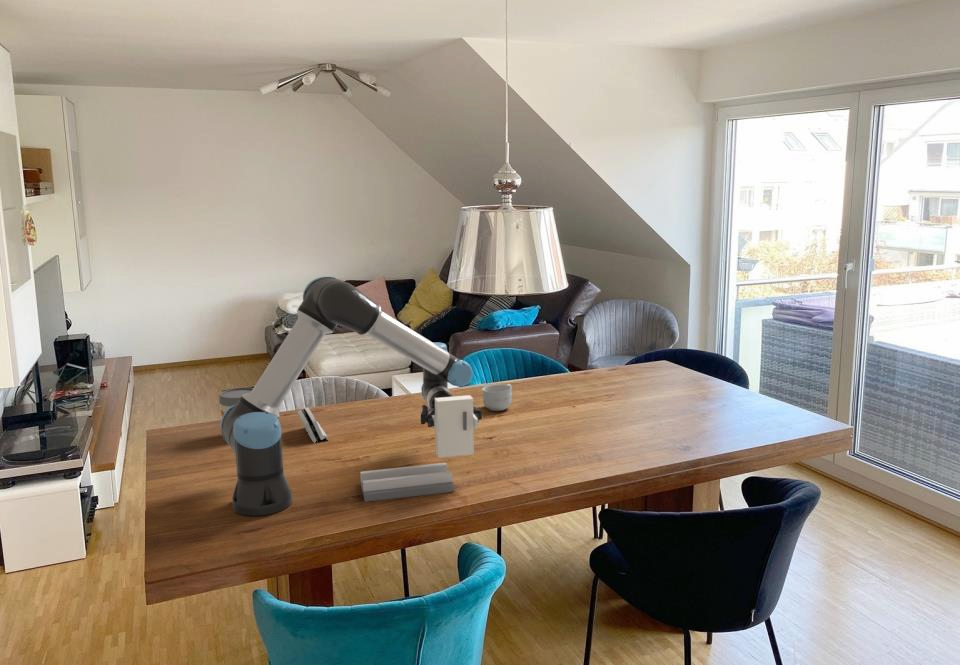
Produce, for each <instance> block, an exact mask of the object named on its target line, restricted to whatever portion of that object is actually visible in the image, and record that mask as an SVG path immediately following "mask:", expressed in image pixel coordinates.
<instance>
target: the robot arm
mask: <svg viewBox="0 0 960 665" xmlns="http://www.w3.org/2000/svg"><path fill="white" fill-rule="evenodd" d="M296 314H297V320H296V321H295V323H294V324H293V326H292V327H291V329H290V331H289V332H288V334H287V336H286V337H285V338H284V340H283V341H282V343H281V344H280V346H279V348H278V349H277V351H276V352H275V354H274V356H273V358H271V360H270V362H269V363H268V365H267V367H266V368H265V370H264V372H263V373H262V374H261V375H260V378H259V379H258V380H257V382H256V383H255V385H254V387H252V388H253V390H252V391H251V392H250V393H247V394H243V395H242V396H241V398H240V399H239V401H238V402H237V404H235V405H233V406H231V407H230V408H229V409H227V410H226V412H225V413H224V415H223V417H221V421H220V432H221V435H222V438H223V440H224V441H225V443H226V444H227V445H228V446H229V447H230V449H231V450H232V451H233V452H234V454H235V455H234V457H235V464H236V476H237V479H236V482H235V487H234V490H233V495H232V497H231V498H232V500H231V501H232V502H231V503H232V510H233V511H234V512H235V513H237V514H238V515H239V514H240V515H241V516H242V515H243V516H248V517H257V516H258V517H260V516H268V515H272V514H276V513H279V512H281V511H283V510H285V509H287V508H288V507H290V506H291V504H292V502H293V492H292V489H291V488H290V485H289V482H288V480H287V477H286V475H285V472H284V471H285V470H284V459H283V458H284V457H283V455H284V454H283V444H282V443H283V441H282V427H281V423H280V420H279V418H280V411H279V407H280V406H281V405H282V403H283V401H284V400H285V399H286V397H287V395H288V394H289V392H290V390H291V389H292V387H293V386H294V384H295V382H296V381H297V380H298V378H299V376H300V375H301V373H302V371H303V370H304V368H305V367H306V365H307V364H308V362H309V361H310V359H311V358H312V356H313V355H314V353H315V351H316V350H317V348H318V346H319V345H320V343H321V342H322V341H323V339H324V337H325V336H326V335H329V334H333V333H334V332H335V330H336V328H337V326H341V327H344V328H346V329H349V330H351V331H353V332H355V333H357V334H358V335H360V336H364V335H367V336H369V337H370V338H372V339H374V340H376V341H378V342H379V343H381V344H383V345H384V346H386V347H387V348H389V349H391V350H393V351H394V352H397V353H398V354H399V355H401V356H403V357H404V358H406V359H408V360H410V361H411V362H413V363H414V364H416V365H418V366H419V367H421V368H422V374H423V375H422V385H421V389H420V390H421V396H422V397H423V399H424V400H425V402H426V404H427V405H428V406H427V405H425V404H423V405H422V406H421V413H420V425H425V424H427V427H428V428H432V427H433V429H434V431H436V432H439V422H438V420H437V418H436V417H435V398H441V397H454V395H453V394H452V393H451V391H450V390H449V389H448V388H449V387H448V386H449V385H451V386H454V387H457V388H462V387H464V386H467V385H468V384H469V383H470V382H471V380H472V378H473V376H474V375H473V374H474V373H473V372H474V371H473V369H472V366H471V364H469V363H468V362H467V361H465V360H463V359H460V358H458V357H456V356H455V355H453V354H452V353H450V352H448V346H447V344H446V343H443V342H440V341H439V342H432V341H431V340H430V339H428V338H426V337H425V336H423V335H422V334H420V333H418V332H417V331H415V330H414V329H412V328H410V327H408V326H407V325H405V324H404V323H402V322H400V321H399V320H397V319H395V318H394V317H392V316H391V315H389V314H387V313H386V312H384V311H382V308H381V305H380V304H379V303H378V302H375V301H374V300H372V299H371V298H370V297H368V296H367V295H366V294H364V293H363V292H362V291H361V290H359V289H358V288H357V287H355V286H354V285H352V284H351V283H349V282H346V281H344V280H341V279H338V278H336V277H334V276H320V277H316V278H314V279H312V280H311V281H310V282H309V283H308V284H307V285H306V286H305V288H304V290H303V294H302V302H301V303H300V305H299V307H298V308H297V310H296ZM448 383H449V385H448ZM482 415H483V412H482V409H479V408H478V407H476V406H474V405H473V426H474V429H475V430H478V429H479V423H480V421H481V420H482V419H483V418H482V417H483V416H482Z"/></svg>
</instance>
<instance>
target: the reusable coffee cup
mask: <svg viewBox="0 0 960 665" xmlns="http://www.w3.org/2000/svg"><path fill="white" fill-rule="evenodd" d="M253 388H254V387H247V386H246V387H234V388H229V389H226V390H223V391H221V392H220V393H219V404H220V407H221V411H220V412H221V416H222V417H223V415H224V413H225V412H226V410H227V409H229V408H230V407H231V406H233V405H235V404H237V402H238V401H239V399H240V398H241V396H242V395H243V394H247V393H250V392H251V391H252V390H253ZM222 417H221V418H222Z"/></svg>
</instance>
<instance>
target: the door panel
mask: <svg viewBox="0 0 960 665" xmlns="http://www.w3.org/2000/svg"><path fill="white" fill-rule="evenodd" d="M473 406H474V398H473V396H472V395H470V394H469V395H457V396H456V395H455V396H454V395H453V397H441V398H435V417H436V418H437V420H438V422H439V432H436V431H435V430H434V431H435V432H434V433H435V454H436V456H437V458H440V459H441V458H451V457H459V456H470V455H471V456H472V455H474V454H475V450H474V449H475V446H474V445H475V443H474V440H475V439H474V435H475V434H474V433H475V432H474V429H475V428H474V426H473Z"/></svg>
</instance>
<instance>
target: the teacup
mask: <svg viewBox="0 0 960 665" xmlns="http://www.w3.org/2000/svg"><path fill="white" fill-rule="evenodd" d="M481 392H482V403H483V405H484V407H486V408H487V409H488V410H490V411H495V412H499V411H504V410H507V409H508V407H510V406H511V404H512V401H513V400H512V399H513V397H512V396H513V395H512V393H513V386H512V384H510V383H507V384H498V383H497V384H490V385H485V386H484V387H482V388H481Z"/></svg>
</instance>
